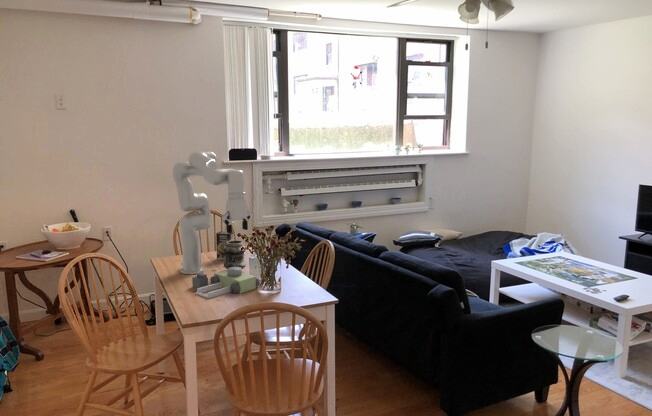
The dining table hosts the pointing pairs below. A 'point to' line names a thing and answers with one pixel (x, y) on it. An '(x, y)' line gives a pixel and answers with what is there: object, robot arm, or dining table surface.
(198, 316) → the dining table surface
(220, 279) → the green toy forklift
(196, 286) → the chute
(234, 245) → the apothecary jar
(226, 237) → the coffee box
